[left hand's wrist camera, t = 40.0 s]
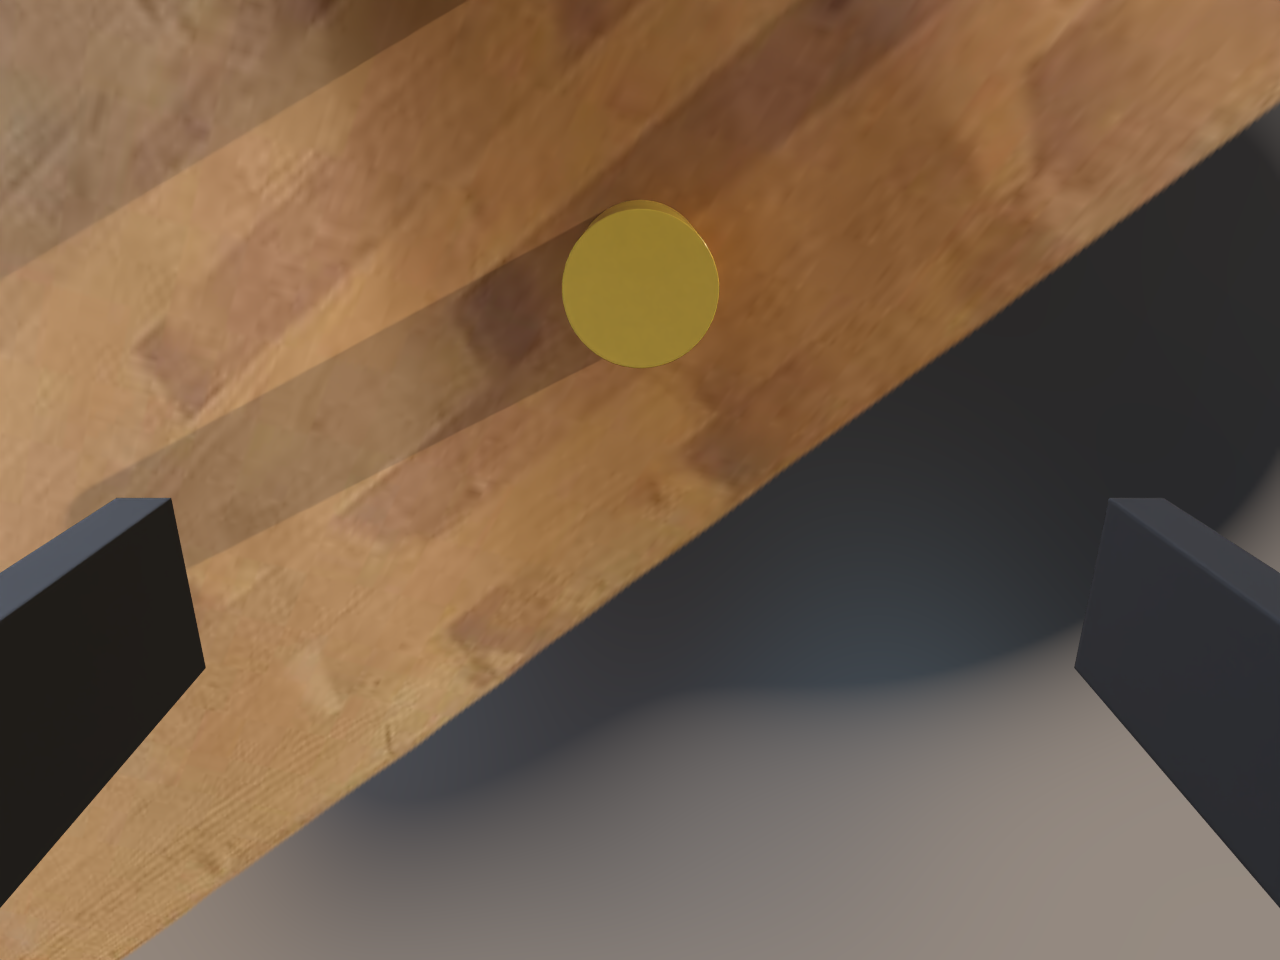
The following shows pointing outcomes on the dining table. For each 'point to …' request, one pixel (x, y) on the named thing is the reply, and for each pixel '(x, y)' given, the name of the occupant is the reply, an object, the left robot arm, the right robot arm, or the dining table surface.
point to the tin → (640, 285)
